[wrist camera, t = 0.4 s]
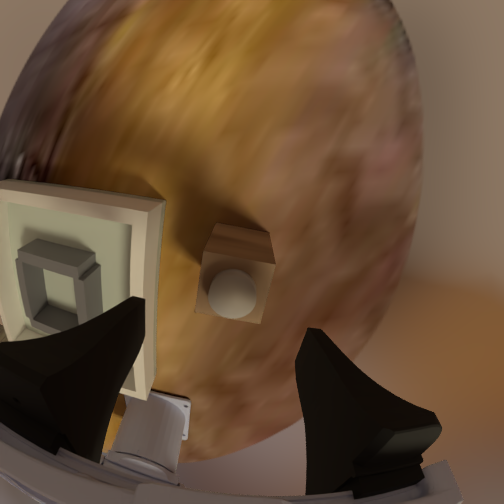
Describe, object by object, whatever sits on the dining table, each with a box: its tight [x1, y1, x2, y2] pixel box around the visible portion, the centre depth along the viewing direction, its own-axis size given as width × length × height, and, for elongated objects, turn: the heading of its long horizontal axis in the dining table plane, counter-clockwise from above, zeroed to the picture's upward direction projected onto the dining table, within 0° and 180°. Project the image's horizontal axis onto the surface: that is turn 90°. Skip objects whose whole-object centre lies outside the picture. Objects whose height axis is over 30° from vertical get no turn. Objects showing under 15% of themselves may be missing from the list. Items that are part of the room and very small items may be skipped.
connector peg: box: [195, 223, 276, 324], centre depth 18 cm, size 4×4×7 cm
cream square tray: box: [0, 179, 166, 401], centre depth 21 cm, size 18×18×4 cm
